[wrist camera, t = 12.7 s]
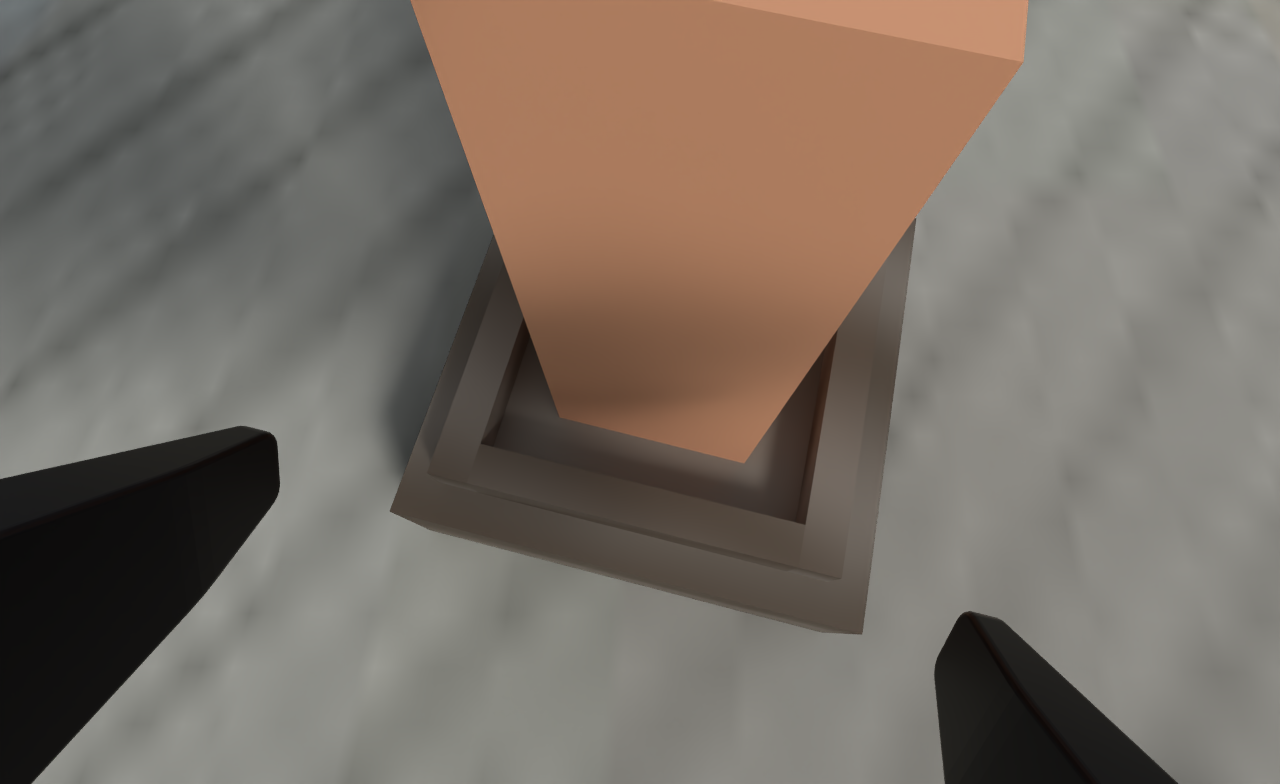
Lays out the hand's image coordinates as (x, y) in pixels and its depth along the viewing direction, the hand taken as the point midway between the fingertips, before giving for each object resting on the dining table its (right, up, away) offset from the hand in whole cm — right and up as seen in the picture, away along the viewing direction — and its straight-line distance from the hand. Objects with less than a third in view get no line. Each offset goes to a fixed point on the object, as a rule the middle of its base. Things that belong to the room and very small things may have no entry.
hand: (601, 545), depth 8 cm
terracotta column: (+1, +3, +10) cm, 10 cm away
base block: (+1, +2, +13) cm, 13 cm away
